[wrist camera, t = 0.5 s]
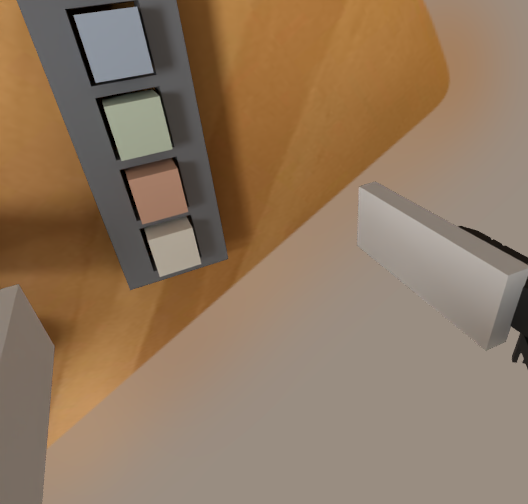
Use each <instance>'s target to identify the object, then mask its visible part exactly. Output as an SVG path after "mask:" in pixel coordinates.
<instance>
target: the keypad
mask: <svg viewBox="0 0 528 504" xmlns="http://www.w3.org/2000/svg"><path fill="white" fill-rule="evenodd" d="M17 2H18V5H19V7H20V10H21V12H22V15H23V18H24V20H25V23H26V25H27V28H28V30H29V33H30V35H31V38H32V41H33V43H34V46H35V48H36V51H37V53H38V56H39V58H40V61H41V63H42V66H43V69H44V71H45V74H46V76H47V79H48V81H49V84H50V86H51V89H52V92H53V94H54V97H55V99H56V102H57V104H58V107H59V109H60V112H61V114H62V117H63V120H64V122H65V125H66V127H67V130H68V132H69V135H70V137H71V140H72V143H73V145H74V148H75V150H76V153H77V155H78V158H79V160H80V163H81V165H82V168H83V171H84V173H85V176H86V178H87V181H88V183H89V186H90V188H91V191H92V194H93V196H94V199H95V201H96V204H97V206H98V209H99V211H100V214H101V216H102V219H103V222H104V224H105V227H106V229H107V232H108V234H109V237H110V239H111V242H112V245H113V247H114V250H115V252H116V255H117V257H118V260H119V262H120V265H121V267H122V270H123V273H124V275H125V278H126V280H127V283H128V285H129V288H130V290H132V289H135V288H139V287H142V286H145V285H148V284H151V283H154V282H157V281H161V280H164V279H167V278H170V277H173V276H176V275H179V274H182V273H186V272H189V271H192V270H195V269H198V268H201V267H204V266H208V265H211V264H214V263H217V262H220V261H223V260H226V259H228V255H227V250H226V245H225V240H224V235H223V230H222V225H221V220H220V215H219V210H218V205H217V200H216V195H215V190H214V185H213V180H212V175H211V170H210V165H209V160H208V155H207V151H206V146H205V141H204V136H203V131H202V126H201V121H200V116H199V111H198V106H197V101H196V96H195V91H194V86H193V81H192V76H191V71H190V66H189V61H188V56H187V51H186V46H185V41H184V36H183V31H182V26H181V21H180V16H179V11H178V6H177V1H176V0H17ZM125 2H134V6H135V7H137V8H138V12H139V16H140V20H141V24H142V28H143V32H144V36H145V40H146V44H147V48H148V52H149V56H150V60H151V64H152V68H153V72H154V73H149V74H143V75H138V76H132V77H127V78H121V79H115V80H110V81H104V82H99V83H96V82H95V80H94V81H90V78H89V75H88V72H87V69H86V66H85V63H84V60H83V57H82V55H81V52H80V49H79V46H78V43H77V40H76V37H75V34H74V31H73V28H72V25H71V22H70V19H69V16H68V13H67V10H71V9H79V8H87V7H95V6H102V5H110V4H118V3H125ZM152 87H155V89H156V93H157V94H158V95H159V96H160V100H161V104H162V108H163V112H164V116H165V120H166V124H167V128H168V132H169V136H170V140H171V144H172V148H173V149H172V150H167V151H163V152H159V153H154V154H150V155H146V156H142V157H137V158H133V159H129V160H124V161H121V158H120V155H119V152H118V149H116V150H113V147H112V144H111V141H110V138H109V135H108V132H107V129H106V126H105V123H104V120H103V117H102V114H101V111H100V108H99V105H98V102H97V99H96V98H99V97H104V96H110V95H115V94H120V93H126V92H131V91H136V90H142V89H147V88H152ZM172 157H173V160H174V164H175V165H176V167H177V168H178V172H179V176H180V180H181V184H182V188H183V192H184V196H185V200H186V204H187V208H188V212H186V213H182V214H179V215H175V216H172V217H168V218H164V219H161V220H157V221H154V222H150V223H146V224H143V225H142V222H141V219H140V216H139V213H138V210H137V206H136V207H133V206H132V203H131V200H130V197H129V194H128V191H127V188H126V185H125V182H124V179H123V176H122V173H121V169H126V168H130V167H134V166H138V165H142V164H147V163H151V162H155V161H159V160H163V159H168V158H172ZM184 216H188V220H189V222H190V224H191V226H192V228H193V232H194V236H195V240H196V244H197V248H198V252H199V256H200V260H201V264H200V265H196V266H193V267H190V268H187V269H184V270H181V271H177V272H174V273H171V274H168V275H165V276H162V277H160V276H159V273H158V270H157V267H156V264H155V261H154V258H153V255H150V256H149V254H148V251H147V248H146V245H145V242H144V239H143V236H142V233H141V230H140V229H141V228H145V227H148V226H152V225H155V224H159V223H162V222H166V221H170V220H173V219H177V218H180V217H184Z"/></svg>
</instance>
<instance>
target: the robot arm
mask: <svg viewBox="0 0 528 504" xmlns="http://www.w3.org/2000/svg"><path fill="white" fill-rule="evenodd" d="M358 202H359V203H358V233H357V234H358V235H357V246H358V247H360V248H361V249H362V250H363V251H364V252H366V253H367V254H368V255H369V256H370V257H372V258H373V259H374V260H375V261H377V262H378V263H379V264H380V265H381V266H383V267H384V268H385V269H386V270H388V271H389V272H390V273H391V274H392V275H394V276H395V277H396V278H397V279H399V280H400V281H401V282H402V283H403V284H405V285H406V286H407V287H408V288H410V289H411V290H412V291H413V292H415V293H416V294H417V295H418V296H420V297H421V298H422V299H423V300H424V301H425V302H427V303H428V304H430V305H431V306H432V307H433V308H434V309H435V310H437V311H438V312H439V313H440V314H441V315H443V316H444V317H445V318H446V319H448V320H449V321H450V322H451V323H452V324H454V325H455V326H456V327H457V328H458V329H460V330H461V331H462V332H463V333H465V334H466V335H467V336H468V337H470V338H471V339H472V340H473V341H474V342H476V343H477V344H478V345H479V346H481V347H482V348H483V349H484V350H485V351H487V350H489V349H491V348H493V347H495V346H497V345H500V344H502V343H504V342H506V339H507V337H508V334H509V331H510V327H511V326H512V327H513V328H515V329H516V330H517V331H519V332H520V336H519V338H518V341H517V344H516V347H515V350H514V352H513V355H512V362H517V360H518V357H519V354H520V353H522V355H523V357H524V360H523V363H525V364H526V366H527V368H528V257H526V256H524V255H522V254H520V253H518V252H516V251H515V250H513V249H510V248H509V247H507V246H503V245H502V244H501V243H499V242H498V241H496V240H491V238H490V237H488V236H486V235H484V234H483V233H481V232H479V231H476V230H473V229H470V228H466V227H463V226H456V225H454V224H452V223H450V222H448V221H447V220H445V219H443V218H441V217H439V216H438V215H436V214H434V213H432V212H430V211H428V210H427V209H425V208H423V207H421V206H419V205H417V204H415V203H414V202H412V201H410V200H408V199H406V198H405V197H403V196H401V195H399V194H397V193H396V192H394V191H392V190H390V189H388V188H386V187H385V186H383V185H381V184H379V183H377V182H372V183H369V184H365V185H362V186H359V201H358ZM54 349H55V346H54V344H53V343H52V341H51V339H50V337H49V336H48V334H47V332H46V331H45V329H44V327H43V325H42V324H41V322H40V320H39V318H38V317H37V315H36V313H35V312H34V310H33V308H32V306H31V305H30V303H29V301H28V299H27V298H26V296H25V294H24V293H23V291H22V289H21V287H20V286H19V284H17V285H13V286H10V287H6V288H3V289H0V504H42V497H43V485H44V472H45V460H46V448H47V436H48V423H49V411H50V399H51V386H52V374H53V361H54Z"/></svg>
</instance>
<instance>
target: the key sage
mask: <svg viewBox="0 0 528 504" xmlns="http://www.w3.org/2000/svg"><path fill="white" fill-rule="evenodd" d="M102 102H103V106H104V110H105V113H106V116H107V119H108V122H109V125H110V128H111V131H112V134H113V137H114V140H115V143H116V146H117V149H118V152H119V155H120V158H121V161H124V160H129V159H133V158H137V157H142V156H146V155H150V154H154V153H159V152H163V151H167V150H172V149H173V148H172V144H171V140H170V136H169V132H168V128H167V124H166V120H165V116H164V112H163V108H162V104H161V100H160V96H159V95H158V94H157V93H156V92H155V91H154V90H153V89H151V90H146V91H141V92H135V93H130V94H125V95H120V96H114V97H109V98H104V99H102Z"/></svg>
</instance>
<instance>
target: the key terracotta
mask: <svg viewBox="0 0 528 504" xmlns="http://www.w3.org/2000/svg"><path fill="white" fill-rule="evenodd" d="M125 172H126V176H127V179H128V182H129V185H130V188H131V191H132V194H133V197H134V200H135V203H136V206H137V210H138V213H139V216H140V219H141V222H142V225H143V224H146V223H150V222H154V221H157V220H161V219H164V218H168V217H172V216H175V215H179V214H182V213H186V212H188V208H187V204H186V200H185V196H184V192H183V188H182V184H181V180H180V176H179V172H178V168H177V167H176V165H175V164H174V162H173V161H172V159H171V158H168V159H163V160H159V161H155V162H151V163H147V164H142V165H138V166H134V167H130V168H126V169H125Z"/></svg>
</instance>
